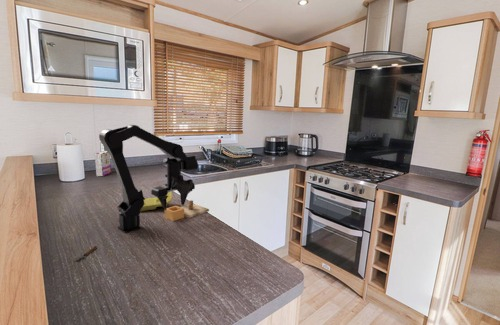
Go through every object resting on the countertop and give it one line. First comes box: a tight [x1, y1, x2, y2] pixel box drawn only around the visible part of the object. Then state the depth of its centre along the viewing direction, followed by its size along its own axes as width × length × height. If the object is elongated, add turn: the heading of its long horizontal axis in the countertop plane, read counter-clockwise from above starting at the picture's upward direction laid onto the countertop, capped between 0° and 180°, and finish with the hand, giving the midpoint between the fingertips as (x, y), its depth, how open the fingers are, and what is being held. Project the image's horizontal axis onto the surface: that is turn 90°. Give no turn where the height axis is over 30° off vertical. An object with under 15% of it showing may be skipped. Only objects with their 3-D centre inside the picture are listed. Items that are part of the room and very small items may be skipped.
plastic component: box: [140, 191, 173, 212], centre depth 129 cm, size 20×7×10 cm
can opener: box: [73, 245, 98, 263], centre depth 84 cm, size 9×2×1 cm, turn 168°
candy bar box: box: [94, 150, 112, 177], centre depth 188 cm, size 11×5×16 cm, turn 179°
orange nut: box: [164, 205, 185, 222], centre depth 118 cm, size 6×6×4 cm
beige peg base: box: [180, 199, 210, 219], centre depth 126 cm, size 12×12×5 cm
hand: (174, 207), depth 117 cm, fingers open, 9 cm apart
